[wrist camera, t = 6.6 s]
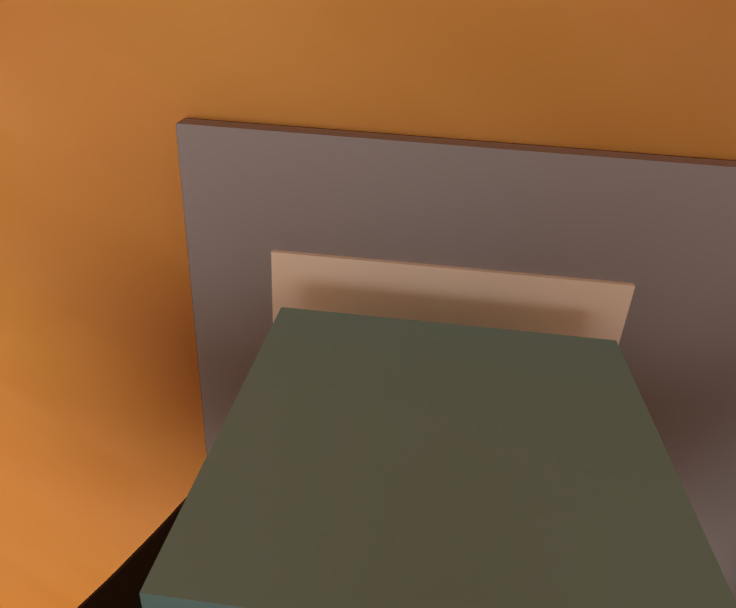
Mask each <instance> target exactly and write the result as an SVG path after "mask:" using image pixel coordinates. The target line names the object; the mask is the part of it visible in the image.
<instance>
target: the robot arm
mask: <svg viewBox="0 0 736 608" xmlns="http://www.w3.org/2000/svg"><path fill="white" fill-rule="evenodd" d="M186 498H187V497H186ZM186 498H185V499H184V501H183V502H182V503H181V504H180V505H179V506H178V507H177V508H176V509H175V510H174V511H173V513H172V514H171V515H170V516H169V517H168V518H167V519H166V520H165V521H164V522H163V523H162V524H161V525H160V527H159V528H158V529H157V530H156V531H155V532H154V533H153V534H152V535H151V536H150V537H149V538H148V539H147V540H146V541H145V542H144V543H143V544H142V545H141V546H140V547H139V548H138V549H137V550H136V551H135V552H134V553H133V554H132V555H131V556H130V557H129V558H128V559H127V560H126V561H125V562H124V563H123V564H122V565H121V567H120V568H119V569H118V570H117V571H116V572H114V573H113V574H112V575H111V576H110V577H109V578H108V579H107V580H106V581H105V582H104V583H103V584H102V585H101V586H100V587H99V588H98V589H97V590H96V591H95V592H94V593H92V594H91V595H90V596H89V597H88V598H87V599H86V600H85V601H84V602H83V603H82V604H81V605H80V606H79V607H78V608H142V605H141V599H140V594H139V593H140V591H141V589H142V587H143V585H144V582H145V580H146V578H147V576H148V574H149V572H150V570H151V568H152V566H153V564H154V562H155V560H156V558H157V556H158V554H159V552H160V550H161V548H162V546H163V544H164V542H165V540H166V538H167V536H168V534H169V532H170V530H171V528H172V526H173V524H174V522H175V520H176V518H177V516H178V514H179V512H180V510H181V508H182V506H183V504H184V502H185V500H186Z"/></svg>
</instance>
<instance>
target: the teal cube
mask: <svg viewBox="0 0 736 608" xmlns="http://www.w3.org/2000/svg"><path fill="white" fill-rule="evenodd" d="M139 594H140V599H141V605H142V608H736V601H735V599H734V596H733V594H732V592H731V590H730V588H729V585H728V583H727V581H726V579H725V577H724V575H723V572H722V570H721V568H720V566H719V564H718V562H717V559H716V557H715V555H714V553H713V551H712V548H711V546H710V544H709V542H708V540H707V538H706V535H705V533H704V531H703V529H702V527H701V524H700V522H699V520H698V518H697V516H696V514H695V511H694V509H693V507H692V505H691V503H690V501H689V498H688V496H687V494H686V492H685V490H684V487H683V485H682V483H681V481H680V479H679V477H678V474H677V472H676V470H675V468H674V466H673V464H672V461H671V459H670V457H669V455H668V453H667V450H666V448H665V446H664V444H663V442H662V440H661V437H660V435H659V433H658V431H657V429H656V426H655V424H654V422H653V420H652V418H651V416H650V413H649V411H648V409H647V407H646V405H645V403H644V400H643V398H642V396H641V394H640V392H639V389H638V387H637V385H636V383H635V381H634V379H633V376H632V374H631V372H630V370H629V368H628V366H627V363H626V361H625V359H624V357H623V355H622V352H621V350H620V348H619V346H618V344H617V342H616V340H608V339H598V338H588V337H578V336H568V335H558V334H548V333H537V332H527V331H517V330H507V329H497V328H487V327H477V326H467V325H457V324H447V323H437V322H427V321H417V320H407V319H397V318H387V317H377V316H367V315H357V314H347V313H337V312H327V311H317V310H306V309H296V308H286V307H281V309H280V311H279V313H278V315H277V317H276V319H275V321H274V323H273V325H272V327H271V329H270V331H269V333H268V335H267V337H266V339H265V341H264V343H263V345H262V347H261V349H260V351H259V353H258V355H257V357H256V359H255V361H254V363H253V365H252V367H251V369H250V371H249V373H248V375H247V377H246V379H245V381H244V383H243V385H242V387H241V389H240V391H239V393H238V395H237V397H236V399H235V401H234V403H233V405H232V407H231V409H230V411H229V413H228V415H227V417H226V419H225V421H224V423H223V425H222V427H221V429H220V431H219V433H218V435H217V437H216V439H215V441H214V443H213V445H212V448H211V450H210V452H209V454H208V456H207V458H206V460H205V462H204V464H203V466H202V468H201V470H200V472H199V474H198V476H197V478H196V480H195V482H194V484H193V486H192V488H191V490H190V492H189V494H188V496H187V498H186V500H185V502H184V504H183V506H182V508H181V510H180V512H179V514H178V516H177V518H176V520H175V522H174V524H173V526H172V528H171V530H170V532H169V534H168V536H167V538H166V540H165V542H164V544H163V546H162V548H161V550H160V552H159V554H158V556H157V558H156V560H155V562H154V564H153V566H152V568H151V570H150V572H149V574H148V576H147V578H146V580H145V582H144V585H143V587H142V589H141V591H140V593H139Z"/></svg>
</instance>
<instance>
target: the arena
mask: <svg viewBox="0 0 736 608" xmlns="http://www.w3.org/2000/svg"><path fill="white" fill-rule="evenodd" d="M176 131H177V142H178V152H179V163H180V174H181V184H182V195H183V206H184V216H185V227H186V238H187V248H188V259H189V270H190V281H191V291H192V302H193V313H194V323H195V334H196V345H197V355H198V366H199V377H200V387H201V398H202V409H203V419H204V430H205V441H206V452H207V456H208V454H209V452H210V450H211V448H212V445H213V443H214V441H215V439H216V437H217V435H218V433H219V431H220V429H221V427H222V425H223V423H224V421H225V419H226V417H227V415H228V413H229V411H230V409H231V407H232V405H233V403H234V401H235V399H236V397H237V395H238V393H239V391H240V389H241V387H242V385H243V383H244V381H245V379H246V377H247V375H248V373H249V371H250V369H251V367H252V365H253V363H254V361H255V359H256V357H257V355H258V353H259V351H260V349H261V347H262V345H263V343H264V341H265V339H266V337H267V335H268V333H269V331H270V329H271V327H272V325H273V323H274V321H275V319H276V317H277V315H278V313H279V311H280V309H281V307H286V308H296V309H306V310H317V311H327V312H337V313H347V314H357V315H367V316H377V317H387V318H397V319H407V320H417V321H427V322H437V323H447V324H457V325H467V326H477V327H487V328H497V329H507V330H517V331H527V332H537V333H548V334H558V335H568V336H578V337H588V338H598V339H608V340H616V342H617V344H618V346H619V348H620V350H621V352H622V355H623V357H624V359H625V361H626V363H627V366H628V368H629V370H630V372H631V374H632V376H633V379H634V381H635V383H636V385H637V387H638V389H639V392H640V394H641V396H642V398H643V400H644V403H645V405H646V407H647V409H648V411H649V413H650V416H651V418H652V420H653V422H654V424H655V426H656V429H657V431H658V433H659V435H660V437H661V440H662V442H663V444H664V446H665V448H666V450H667V453H668V455H669V457H670V459H671V461H672V464H673V466H674V468H675V470H676V472H677V474H678V477H679V479H680V481H681V483H682V485H683V487H684V490H685V492H686V494H687V496H688V498H689V501H690V503H691V505H692V507H693V509H694V511H695V514H696V516H697V518H698V520H699V522H700V524H701V527H702V529H703V531H704V533H705V535H706V538H707V540H708V542H709V544H710V546H711V548H712V551H713V553H714V555H715V557H716V559H717V562H718V564H719V566H720V568H721V570H722V572H723V575H724V577H725V579H726V581H727V583H728V585H729V588H730V590H731V592H732V594H733V596H734V599H735V601H736V161H731V160H718V159H705V158H692V157H679V156H666V155H653V154H640V153H627V152H615V151H602V150H589V149H576V148H563V147H550V146H537V145H524V144H512V143H499V142H486V141H473V140H460V139H447V138H434V137H421V136H408V135H396V134H383V133H370V132H357V131H344V130H331V129H318V128H305V127H293V126H280V125H267V124H254V123H241V122H228V121H215V120H202V119H189V118H185V119H183V120H181V121H179V122H177V123H176Z"/></svg>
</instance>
